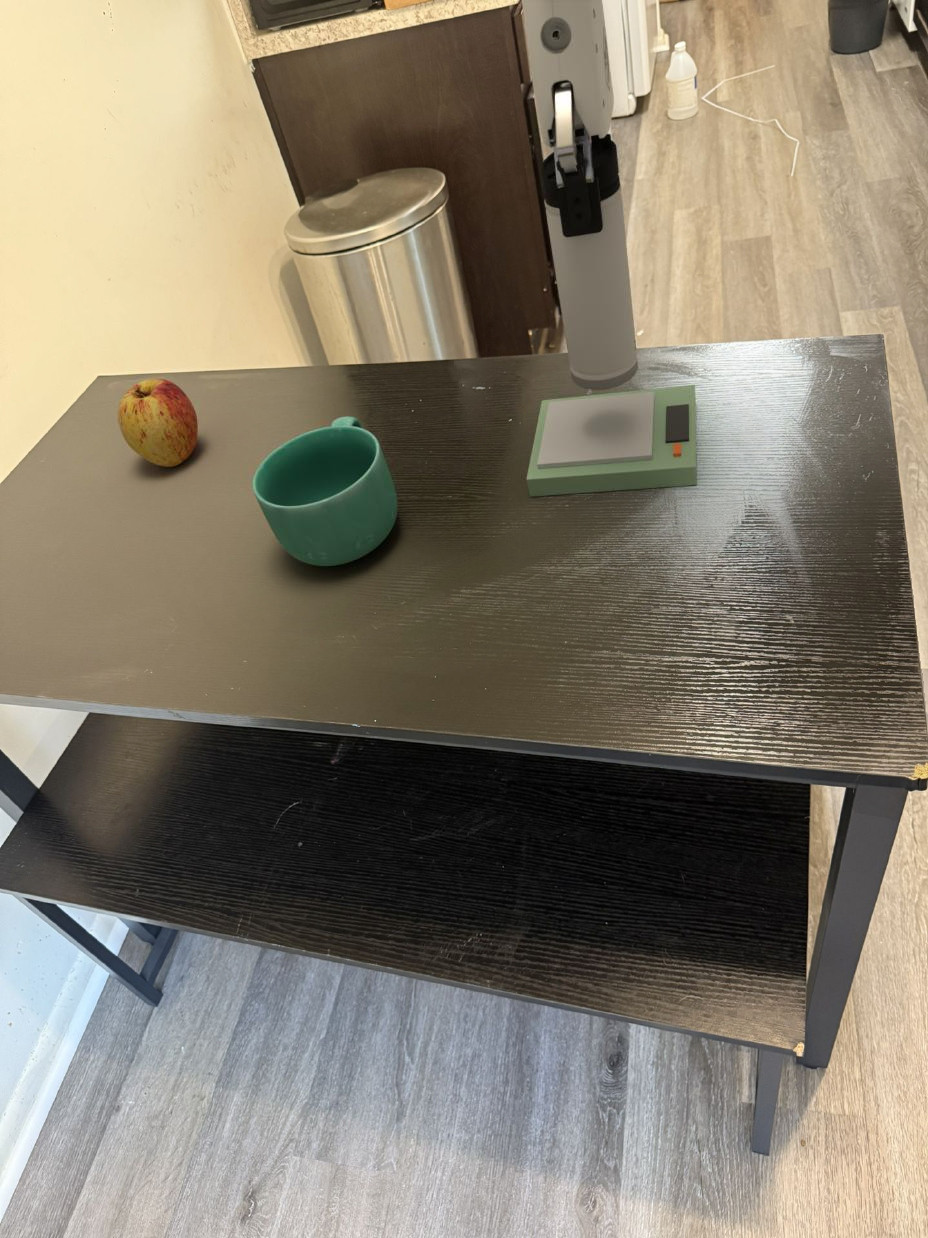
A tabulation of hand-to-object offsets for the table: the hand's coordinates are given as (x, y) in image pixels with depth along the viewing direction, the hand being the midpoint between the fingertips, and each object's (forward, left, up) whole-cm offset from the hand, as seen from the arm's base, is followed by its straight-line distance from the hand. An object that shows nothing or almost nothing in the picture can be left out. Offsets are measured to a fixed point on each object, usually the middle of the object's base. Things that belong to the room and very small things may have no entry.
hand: (586, 213), depth 72 cm
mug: (+26, +10, -24) cm, 37 cm away
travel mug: (0, 0, -15) cm, 15 cm away
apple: (+54, -6, -24) cm, 59 cm away
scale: (0, 0, -24) cm, 24 cm away
